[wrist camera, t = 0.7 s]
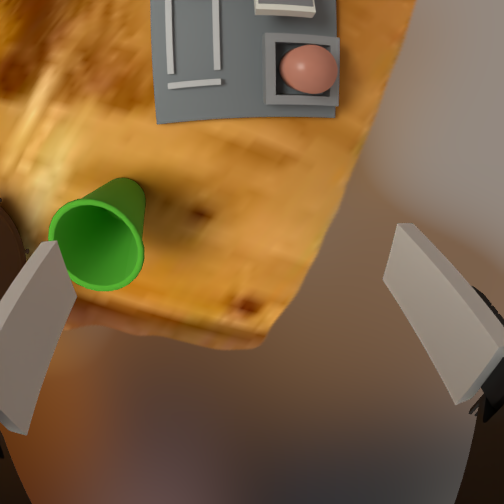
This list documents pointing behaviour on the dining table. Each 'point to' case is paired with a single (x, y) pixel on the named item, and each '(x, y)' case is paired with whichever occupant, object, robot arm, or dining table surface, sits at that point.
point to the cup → (102, 235)
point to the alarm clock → (9, 252)
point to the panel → (234, 60)
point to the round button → (308, 69)
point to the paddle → (285, 8)
